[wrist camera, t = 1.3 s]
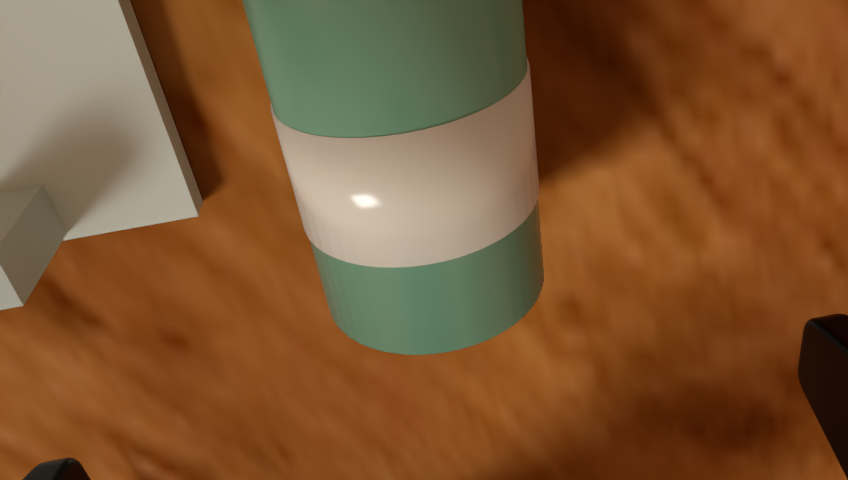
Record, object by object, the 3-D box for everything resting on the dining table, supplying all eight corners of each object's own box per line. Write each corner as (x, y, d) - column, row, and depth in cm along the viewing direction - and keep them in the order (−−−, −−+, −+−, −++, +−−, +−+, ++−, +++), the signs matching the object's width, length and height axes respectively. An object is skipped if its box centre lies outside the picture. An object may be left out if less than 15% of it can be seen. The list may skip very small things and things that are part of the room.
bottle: (523, 207, 22) (569, 333, 17) (330, 239, 22) (320, 373, 17) (464, -438, 14) (517, -547, 9) (166, -383, 14) (63, -460, 9)
